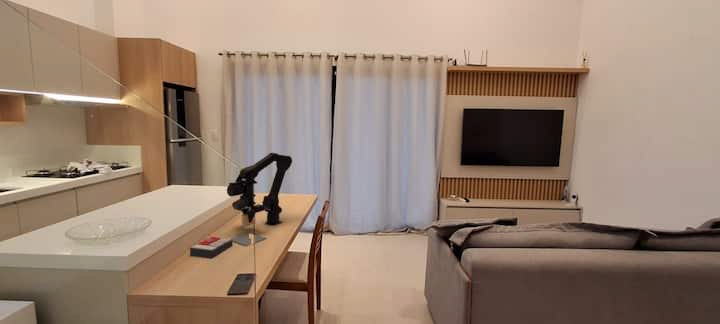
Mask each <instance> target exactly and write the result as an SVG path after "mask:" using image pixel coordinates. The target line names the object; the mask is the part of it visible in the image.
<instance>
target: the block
mask: <svg viewBox="0 0 720 324" xmlns="http://www.w3.org/2000/svg"><path fill="white" fill-rule="evenodd" d="M254 224H256V215H255V216H254V219H253V220H252V222H251V223H249V218H248V213H247V214H243V213H242V214H241V227H244V228H246V227H249V226H252V225H254Z"/></svg>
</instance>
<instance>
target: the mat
mask: <svg viewBox="0 0 720 324" xmlns="http://www.w3.org/2000/svg"><path fill="white" fill-rule="evenodd" d="M248 233H249V232H247V233H243V234H240V235H237V236H235V237H232V238H230V239H231V240H232V243H235V244H237V245H240V246H245V247H246V246H247V247H249V246H251V245H250V244H251V239H250V238H249V234H248ZM254 234H255V233H254ZM266 239H267V237H265V236H262V235H258V234H255V244H257V243H260V242H262V241H265V240H266ZM248 245H249V246H248Z"/></svg>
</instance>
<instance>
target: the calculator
mask: <svg viewBox="0 0 720 324" xmlns="http://www.w3.org/2000/svg"><path fill="white" fill-rule="evenodd" d="M232 246H233V242H232V240H231V238H226V237H225V238H224V237H223V238H221V237H215V236H211V237H209V238H207V239H205V240H203V241H201V242H199V243H197V244H195V245H193V246H191V247H190V248H189V256H190V257H195V258H197V257H198V258H204V259H214V258H215V257H217V256H218V255H220V254H222V253H223V252H225V251H226V250H228V249H229V248H231V247H232Z"/></svg>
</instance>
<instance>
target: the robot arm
mask: <svg viewBox="0 0 720 324" xmlns="http://www.w3.org/2000/svg"><path fill="white" fill-rule="evenodd" d="M273 162H276V163H275V165H276V172H275V175H274V178H273V181H272V184H271V186H270V189H269V193H268V194H267V195H264V196H263V200H262V201H261V203H262V204H260V203H259V204H256V202H255V197H256V194H255V193H254V191H255V190H254V185H256V184H258V182H257V181H256V180H255V179H256V178H257V177H258V176H259V173H260V172H261V171H263V170H264V169H266V168H267V167H268V166H269V165H271V164H273ZM292 163H293V158H292V156H290V155H284V154H279V153H276V152H270V153H267V155H266V156H264V157H263V158H261V159H260V160H257V162H255V163H254V164H252V165H249V166H246V167H243V168H242V169H240V171H239V174H238V176H237V178H236V180H235V182H234V181H233V182H228V186H227V188H226V193H227V195H228V196H229V197H236V196H239V199H237V200H235V201H233V202H232V203H231V205H232V208H233V210H234V211H235V210H236V211H240V212H241V213H242V215H243V214H247V213H248V218H249V223H251V222H252V220H253V218H254V216H255V217H256V214H257V213H261V212H263V211H264V212H265V213H266V221H265V222H264V223H265V224H267V225H271V226H275V225H278V224H280V223H282V221H281V220H280V214H282V212H283V208H282V207H281V206H280V205H279V204H280V198H279V194H280V191H281V188H282V185H283V181H284V178H285V175H286V172H287V171H288V170H289V168H290V167H291V166H292Z"/></svg>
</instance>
